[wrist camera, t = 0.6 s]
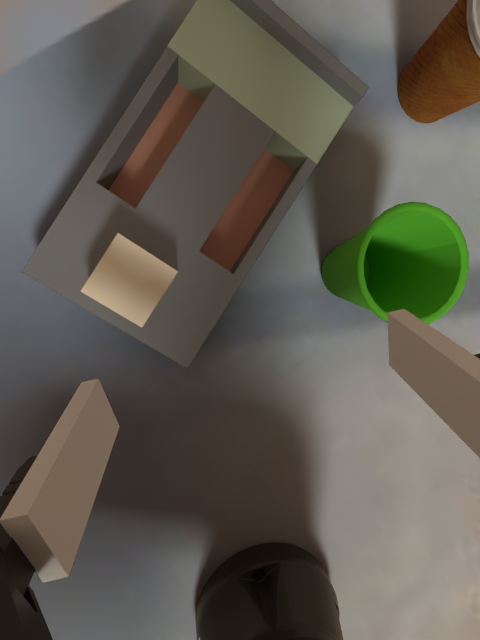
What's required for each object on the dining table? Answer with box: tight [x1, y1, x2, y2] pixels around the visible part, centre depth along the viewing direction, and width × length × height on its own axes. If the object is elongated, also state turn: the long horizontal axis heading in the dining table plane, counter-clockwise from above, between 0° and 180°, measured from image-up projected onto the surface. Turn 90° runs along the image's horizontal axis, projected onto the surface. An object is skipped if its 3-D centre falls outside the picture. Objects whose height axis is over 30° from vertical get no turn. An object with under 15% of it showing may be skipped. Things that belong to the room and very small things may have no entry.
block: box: [81, 233, 178, 327], centre depth 27 cm, size 5×5×3 cm
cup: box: [322, 202, 469, 324], centre depth 30 cm, size 9×9×11 cm
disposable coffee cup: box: [398, 0, 480, 123], centre depth 29 cm, size 10×10×12 cm
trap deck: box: [22, 0, 369, 368], centre depth 30 cm, size 28×15×6 cm, turn 147°
